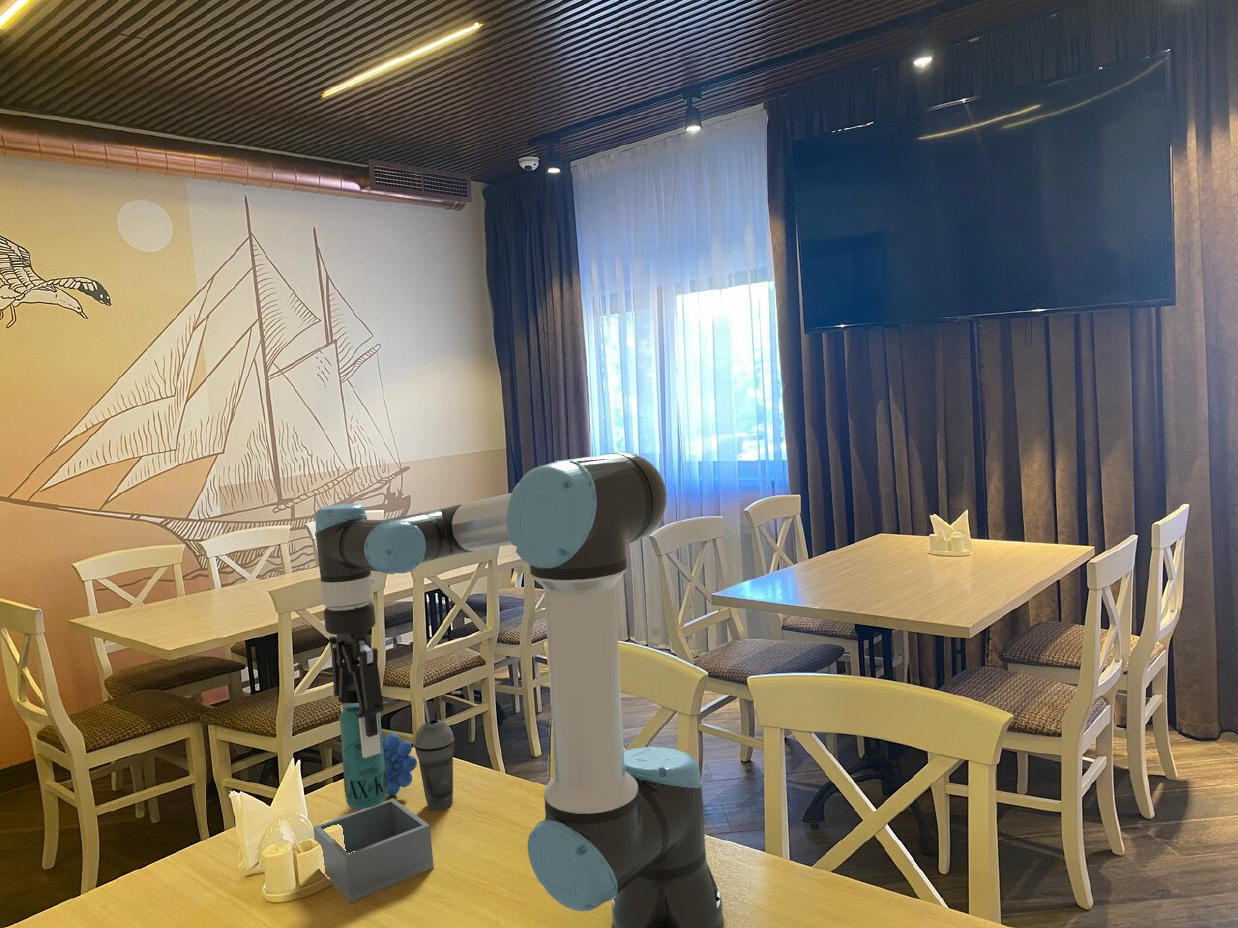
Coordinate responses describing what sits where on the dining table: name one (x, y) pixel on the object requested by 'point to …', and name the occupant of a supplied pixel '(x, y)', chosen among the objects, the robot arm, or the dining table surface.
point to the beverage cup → (436, 761)
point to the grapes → (397, 763)
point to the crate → (375, 849)
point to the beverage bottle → (360, 760)
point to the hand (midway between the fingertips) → (362, 748)
